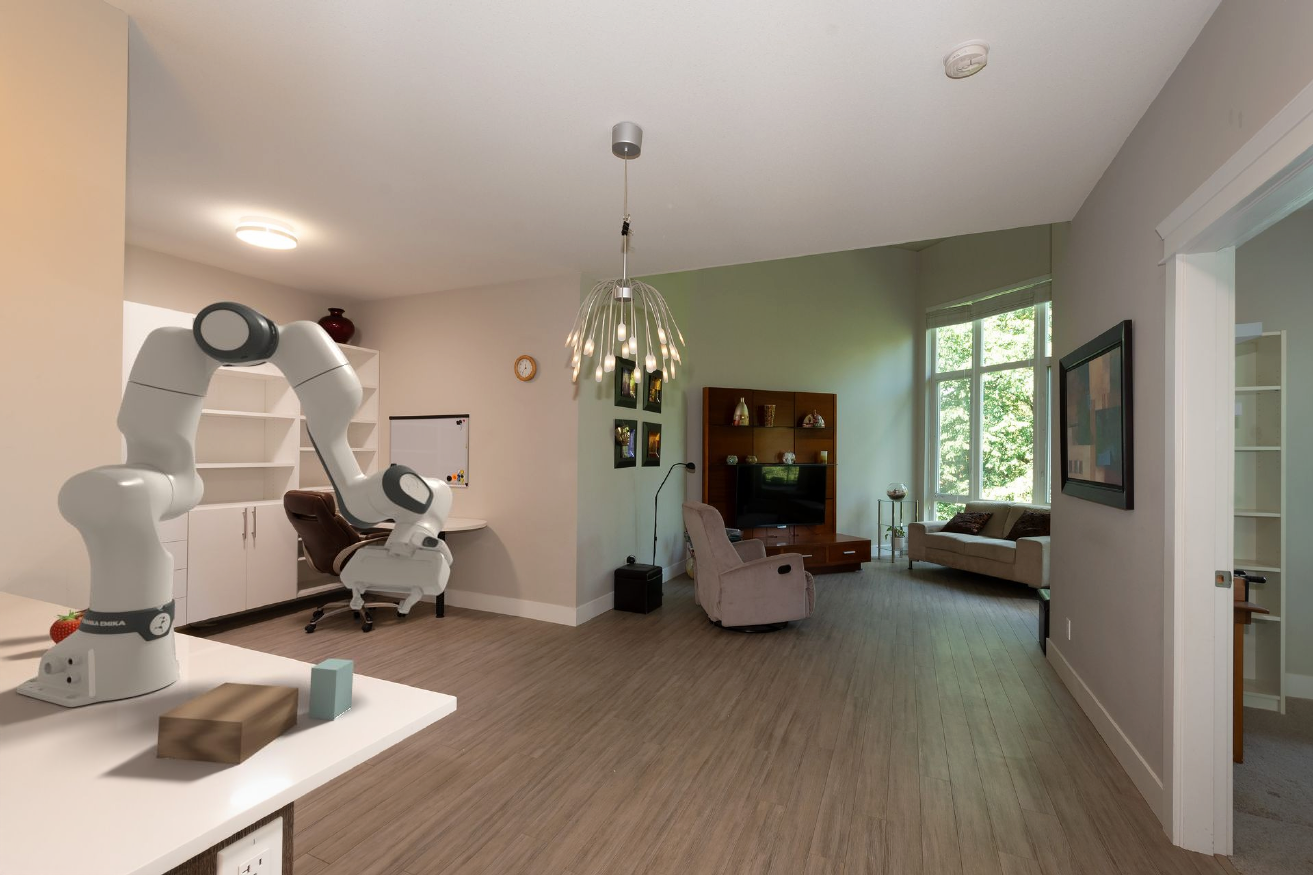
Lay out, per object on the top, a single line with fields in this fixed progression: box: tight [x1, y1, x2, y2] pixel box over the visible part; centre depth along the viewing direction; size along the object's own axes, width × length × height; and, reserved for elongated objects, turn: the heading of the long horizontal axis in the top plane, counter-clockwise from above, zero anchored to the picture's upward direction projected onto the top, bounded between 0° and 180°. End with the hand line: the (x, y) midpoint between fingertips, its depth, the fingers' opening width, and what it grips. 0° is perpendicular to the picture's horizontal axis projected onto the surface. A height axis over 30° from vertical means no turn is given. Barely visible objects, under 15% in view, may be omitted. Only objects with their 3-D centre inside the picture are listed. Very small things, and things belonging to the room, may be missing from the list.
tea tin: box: [308, 657, 354, 720], centre depth 99 cm, size 4×4×8 cm
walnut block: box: [156, 682, 300, 765], centre depth 89 cm, size 12×12×6 cm
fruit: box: [49, 609, 83, 645], centre depth 121 cm, size 5×5×8 cm
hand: (378, 609), depth 111 cm, fingers open, 8 cm apart
